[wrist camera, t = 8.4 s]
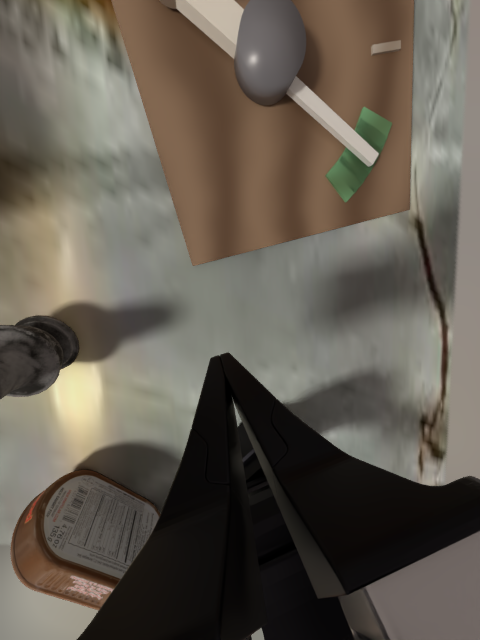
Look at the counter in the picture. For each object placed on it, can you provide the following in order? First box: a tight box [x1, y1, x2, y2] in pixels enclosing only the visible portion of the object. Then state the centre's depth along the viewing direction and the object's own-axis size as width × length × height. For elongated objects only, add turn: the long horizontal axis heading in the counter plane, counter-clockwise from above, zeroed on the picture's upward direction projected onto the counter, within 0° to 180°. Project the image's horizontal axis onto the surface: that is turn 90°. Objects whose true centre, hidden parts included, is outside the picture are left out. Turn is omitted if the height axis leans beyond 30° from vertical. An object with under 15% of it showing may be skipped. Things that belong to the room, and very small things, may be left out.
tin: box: [10, 470, 160, 610], centre depth 21 cm, size 15×3×8 cm, turn 40°
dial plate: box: [111, 0, 414, 266], centre depth 17 cm, size 22×18×1 cm
